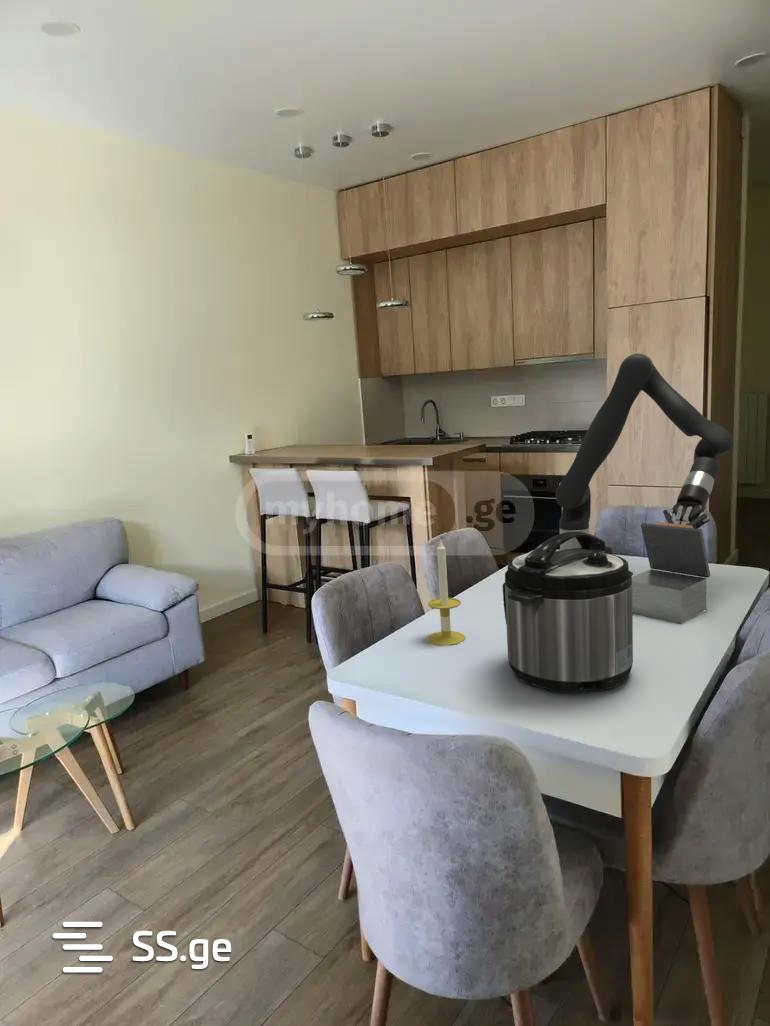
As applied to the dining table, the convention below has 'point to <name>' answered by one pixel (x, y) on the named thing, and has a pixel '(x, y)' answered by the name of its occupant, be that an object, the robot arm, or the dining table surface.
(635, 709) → the dining table surface
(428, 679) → the dining table surface
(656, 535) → the lid
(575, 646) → the pressure cooker
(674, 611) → the grey metal box
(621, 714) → the dining table surface
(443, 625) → the candle
